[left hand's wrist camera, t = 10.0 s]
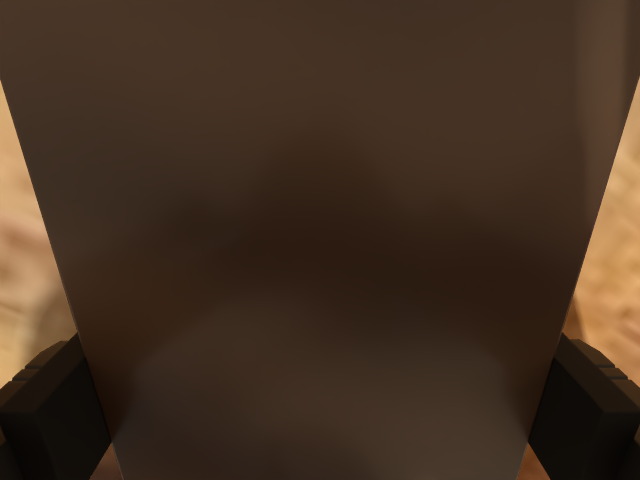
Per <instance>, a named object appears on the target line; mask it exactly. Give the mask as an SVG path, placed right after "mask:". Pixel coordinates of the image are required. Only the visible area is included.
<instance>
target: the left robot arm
mask: <svg viewBox="0 0 640 480" xmlns="http://www.w3.org/2000/svg"><path fill="white" fill-rule="evenodd" d="M528 443H529V444H530V446H531V448H532V449H533V451H534V453H535V454H536V456H537V458H538V459H539V461H540V463H541V464H542V466H543V468H544V469H545V471H546V473H547V474H548V476H549V478H550V479H551V480H640V388H639V387H638V386H637V385H636V384H635V383H634V382H633V381H632V380H628V377H627V376H626V375H625V374H624V373H623V372H622V371H621V370H620V369H619V368H615V365H614V364H613V363H612V362H611V361H610V360H609V359H608V358H606V357H605V356H604V355H603V354H602V353H601V352H600V351H598V350H596V349H595V348H593V347H591V346H590V345H588V344H586V343H584V342H583V341H581V340H569V339H568V338H567V337H566V336H565V335H564V334H563V333H561V337H560V340H559V343H558V346H557V350H556V353H555V356H554V360H553V363H552V366H551V369H550V373H549V376H548V379H547V383H546V386H545V389H544V393H543V396H542V399H541V402H540V406H539V409H538V412H537V416H536V419H535V422H534V425H533V429H532V432H531V435H530V439H529V442H528ZM110 444H111V440H110V437H109V434H108V430H107V427H106V424H105V420H104V417H103V414H102V411H101V407H100V404H99V401H98V398H97V394H96V391H95V388H94V384H93V381H92V378H91V375H90V371H89V368H88V365H87V362H86V358H85V355H84V352H83V348H82V345H81V342H80V339H79V335H78V332H77V333H76V334H75V335H74V336H73V337H72V338H71V339H70V340H69V341H60V342H58V343H56V344H54V345H53V346H51V347H49V348H47V349H46V350H44V351H42V352H41V353H39V354H38V355H37V356H36V357H35V358H34V359H33V360H32V361H31V362H30V363H28V364H27V365H26V366H25V369H22V370H21V371H20V372H19V373H17V374H16V375H15V376H14V377H13V378H12V381H9V382H8V383H7V384H5V385H4V386H3V387H2V388H1V389H0V480H89V479H90V477H91V475H92V474H93V472H94V470H95V469H96V467H97V465H98V464H99V462H100V460H101V459H102V457H103V455H104V454H105V452H106V450H107V449H108V447H109V445H110Z"/></svg>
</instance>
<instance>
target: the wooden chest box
mask: <svg viewBox="0 0 640 480" xmlns="http://www.w3.org/2000/svg"><path fill="white" fill-rule="evenodd" d="M639 77H640V0H0V80H1V83H2V87H3V90H4V93H5V96H6V100H7V103H8V106H9V110H10V113H11V116H12V119H13V123H14V126H15V129H16V132H17V136H18V139H19V142H20V146H21V149H22V152H23V155H24V159H25V162H26V165H27V168H28V172H29V175H30V178H31V182H32V185H33V188H34V191H35V195H36V198H37V201H38V204H39V208H40V211H41V214H42V218H43V221H44V224H45V227H46V231H47V234H48V237H49V240H50V244H51V247H52V250H53V254H54V257H55V260H56V263H57V267H58V270H59V273H60V276H61V280H62V283H63V286H64V290H65V293H66V296H67V299H68V303H69V306H70V309H71V312H72V316H73V319H74V322H75V326H76V329H77V332H78V335H79V339H80V342H81V345H82V348H83V352H84V355H85V358H86V362H87V365H88V368H89V371H90V375H91V378H92V381H93V384H94V388H95V391H96V394H97V398H98V401H99V404H100V407H101V411H102V414H103V417H104V420H105V424H106V427H107V430H108V434H109V437H110V440H111V443H112V447H113V450H114V453H115V456H116V460H117V463H118V466H119V470H120V473H121V476H122V479H123V480H517V478H518V475H519V471H520V468H521V465H522V462H523V458H524V455H525V452H526V448H527V445H528V442H529V439H530V435H531V432H532V429H533V425H534V422H535V419H536V416H537V412H538V409H539V406H540V402H541V399H542V396H543V393H544V389H545V386H546V383H547V379H548V376H549V373H550V369H551V366H552V363H553V360H554V356H555V353H556V350H557V346H558V343H559V340H560V337H561V333H562V330H563V327H564V323H565V320H566V317H567V314H568V310H569V307H570V304H571V300H572V297H573V294H574V291H575V287H576V284H577V281H578V277H579V274H580V271H581V268H582V264H583V261H584V258H585V254H586V251H587V248H588V244H589V241H590V238H591V235H592V231H593V228H594V225H595V221H596V218H597V215H598V212H599V208H600V205H601V202H602V198H603V195H604V192H605V189H606V185H607V182H608V179H609V175H610V172H611V169H612V166H613V162H614V159H615V156H616V152H617V149H618V146H619V143H620V139H621V136H622V133H623V129H624V126H625V123H626V119H627V116H628V113H629V110H630V106H631V103H632V100H633V96H634V93H635V90H636V87H637V83H638V80H639Z"/></svg>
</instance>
